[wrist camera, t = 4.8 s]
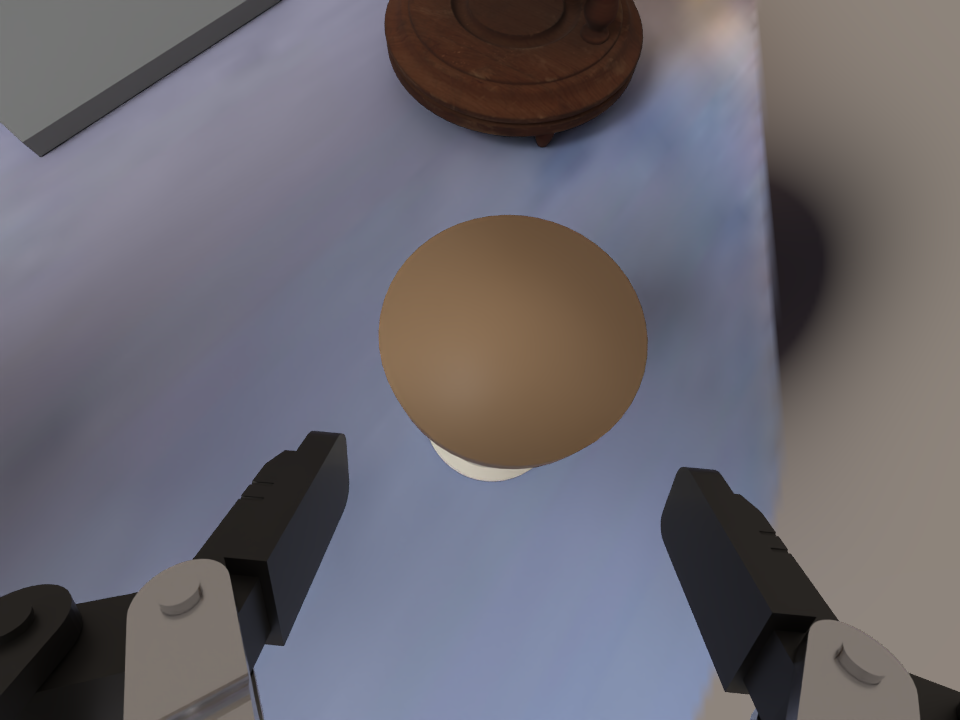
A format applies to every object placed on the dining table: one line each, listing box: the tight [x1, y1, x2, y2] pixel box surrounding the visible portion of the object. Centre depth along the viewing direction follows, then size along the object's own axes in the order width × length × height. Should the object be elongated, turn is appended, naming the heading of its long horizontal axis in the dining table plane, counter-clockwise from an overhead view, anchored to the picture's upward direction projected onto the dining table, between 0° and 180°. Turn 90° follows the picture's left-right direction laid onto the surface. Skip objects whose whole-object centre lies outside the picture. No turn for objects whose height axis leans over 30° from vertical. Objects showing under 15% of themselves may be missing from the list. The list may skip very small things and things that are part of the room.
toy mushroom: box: [379, 215, 648, 482], centre depth 15 cm, size 6×6×10 cm
